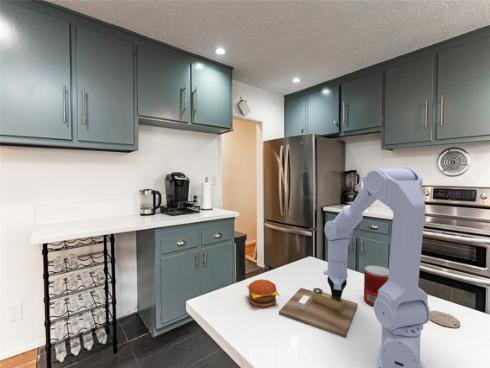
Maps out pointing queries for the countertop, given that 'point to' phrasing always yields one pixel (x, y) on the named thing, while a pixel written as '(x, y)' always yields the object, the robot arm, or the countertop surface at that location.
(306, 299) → the white rectangular block
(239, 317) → the countertop surface
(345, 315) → the plate
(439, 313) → the flatbread
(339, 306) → the bar
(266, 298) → the hamburger
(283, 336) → the countertop surface
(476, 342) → the countertop surface
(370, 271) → the canned food
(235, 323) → the countertop surface
